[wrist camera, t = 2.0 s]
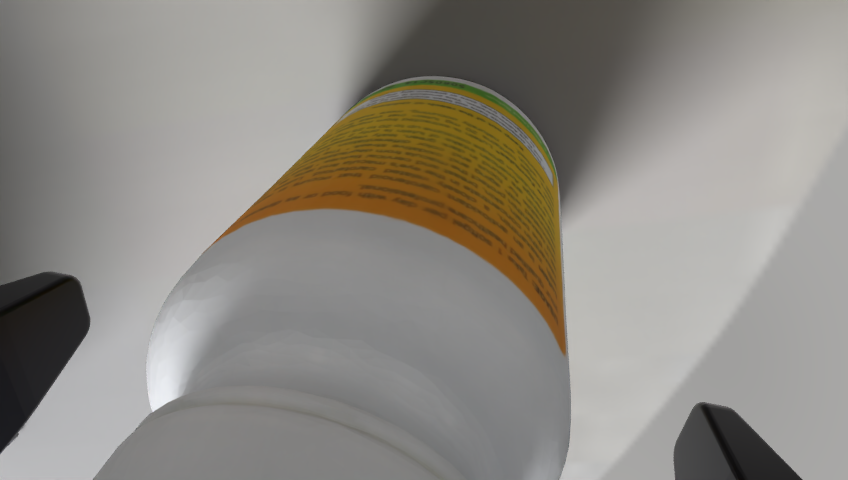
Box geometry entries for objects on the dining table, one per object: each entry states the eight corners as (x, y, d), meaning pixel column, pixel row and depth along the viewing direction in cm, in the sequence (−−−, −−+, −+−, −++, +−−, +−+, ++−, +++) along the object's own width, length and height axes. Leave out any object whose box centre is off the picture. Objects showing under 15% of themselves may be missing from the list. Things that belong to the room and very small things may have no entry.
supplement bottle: (304, 83, 12) (-217, 435, 4) (556, 57, 11) (597, 497, 3) (352, 287, 15) (104, 761, 6) (561, 285, 13) (590, 871, 5)
